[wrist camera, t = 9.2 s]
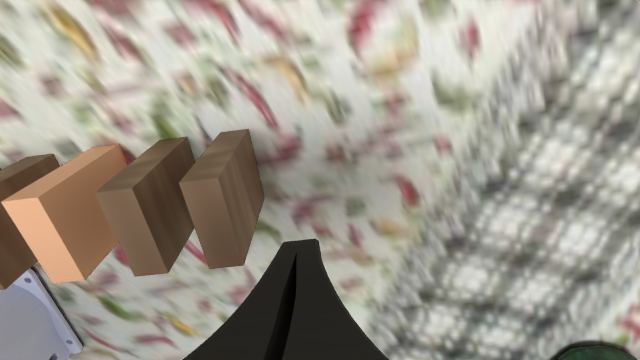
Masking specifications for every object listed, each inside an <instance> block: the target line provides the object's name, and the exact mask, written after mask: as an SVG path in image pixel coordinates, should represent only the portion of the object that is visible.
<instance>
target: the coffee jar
mask: <svg viewBox="0 0 640 360" xmlns="http://www.w3.org/2000/svg"><path fill="white" fill-rule="evenodd" d="M557 360H637V359H636V358H635V357H634V356H632V355H630V354H628V353H626V352H623V351H621V350H618V349H614V348H611V347H607V346H587V347H581V348H573V349H570V350H569V351H567V352H565V353H564V354H563V355H562V356H560V357H559V358H558V359H557Z"/></svg>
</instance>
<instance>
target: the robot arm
mask: <svg viewBox="0 0 640 360" xmlns="http://www.w3.org/2000/svg"><path fill="white" fill-rule="evenodd" d="M82 349H83V346H82V344H81V343H80V341H79V340H78V338H77V337H76V335H75V334H74V332H73V331H72V329H71V327H70V326H69V324H68V323H67V321H66V320H65V318H64V317H63V315H62V314H61V312H60V311H59V309H58V308H57V306H56V304H55V303H54V301H53V300H52V298H51V297H50V295H49V294H48V292H47V291H46V289H45V288H44V286H43V285H42V283H41V281H40V280H39V278H38V277H37V275H36V274H35V272H34V271H33V270H32V269H30V268H29V269H28V270H27V271H26V272H25V273H24V274H22V275H21V276H20V277H19V278H18V279H17V280H16V281H15V282H13V283H12V284H11V285H10V286H9V287H8V288H7V289H5V290H0V360H67V358H68V357H69V355H70V354H75V353H80V352H81V350H82ZM183 360H389V359H388V358H387V357H386V356H385V355H384V354H383V353H382V352H381V351H380V350H379V349H378V348H377V347H376V346H375V345H374V344H373V343H372V341H371V340H370V339H369V338H368V337H367V336H366V335H365V333H364V332H363V331H362V329H361V328H360V327H359V326H358V324H357V323H356V322H355V321H354V319H353V318H352V317H351V315H350V314H349V312H348V311H347V309H346V308H345V306H344V305H343V303H342V301H341V300H340V298H339V296H338V295H337V293H336V291H335V289H334V287H333V285H332V283H331V281H330V279H329V277H328V275H327V272H326V270H325V268H324V265H323V262H322V258H321V252H320V246H319V241H318V240H316V239H308V240H299V241H289V242H284V243H283V244H282V245H281V247H280V249H279V250H278V252H277V254H276V256H275V257H274V259H273V261H272V262H271V264H270V265H269V267H268V269H267V270H266V272H265V273H264V275H263V276H262V278H261V279H260V281H259V282H258V283H257V285H256V286H255V287H254V289H253V290H252V291H251V293H250V294H249V295H248V297H247V298H246V299H245V300H244V302H243V303H242V304H241V305H240V306H239V308H238V309H237V310H236V311H235V312H234V313H233V314H232V316H231V317H230V318H229V319H228V320H227V321H226V322H225V323H224V324H223V325H222V326H221V327H220V328H219V329H218V330H217V331H216V332H215V333H213V334H212V335H211V336H210V337H209V338H208V339H207V340H206V341H205V342H204V343H202V344H201V345H200V346H199V347H198V348H197V349H195V350H194V351H193V352H192V353H190V354H189V355H188V356H187V357H185V358H184V359H183Z"/></svg>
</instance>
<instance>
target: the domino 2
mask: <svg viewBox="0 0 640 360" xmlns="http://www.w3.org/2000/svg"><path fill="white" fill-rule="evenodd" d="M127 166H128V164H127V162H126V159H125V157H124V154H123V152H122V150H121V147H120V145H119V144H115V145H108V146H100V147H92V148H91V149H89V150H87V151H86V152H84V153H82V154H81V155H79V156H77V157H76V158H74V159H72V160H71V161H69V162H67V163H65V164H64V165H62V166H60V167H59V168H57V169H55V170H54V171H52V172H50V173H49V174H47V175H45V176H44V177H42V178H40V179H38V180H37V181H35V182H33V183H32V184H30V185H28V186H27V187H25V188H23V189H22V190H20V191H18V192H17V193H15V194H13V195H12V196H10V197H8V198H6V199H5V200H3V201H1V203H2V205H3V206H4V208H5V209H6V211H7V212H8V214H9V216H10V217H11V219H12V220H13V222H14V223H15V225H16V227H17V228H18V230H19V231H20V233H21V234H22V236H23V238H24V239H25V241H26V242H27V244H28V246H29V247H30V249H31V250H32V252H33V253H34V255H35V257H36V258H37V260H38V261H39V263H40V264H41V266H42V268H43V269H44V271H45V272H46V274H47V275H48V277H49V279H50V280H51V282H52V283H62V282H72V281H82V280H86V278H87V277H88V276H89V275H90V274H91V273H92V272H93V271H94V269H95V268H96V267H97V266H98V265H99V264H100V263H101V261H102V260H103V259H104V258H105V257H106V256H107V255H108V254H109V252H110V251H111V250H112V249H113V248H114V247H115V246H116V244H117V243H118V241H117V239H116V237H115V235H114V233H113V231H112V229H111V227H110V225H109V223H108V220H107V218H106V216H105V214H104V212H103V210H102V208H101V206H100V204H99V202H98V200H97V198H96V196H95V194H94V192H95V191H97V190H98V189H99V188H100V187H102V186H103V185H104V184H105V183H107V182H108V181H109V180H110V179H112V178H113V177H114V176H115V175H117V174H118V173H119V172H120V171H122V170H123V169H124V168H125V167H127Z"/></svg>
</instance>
